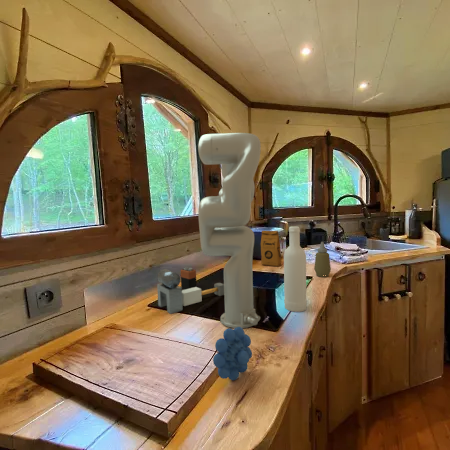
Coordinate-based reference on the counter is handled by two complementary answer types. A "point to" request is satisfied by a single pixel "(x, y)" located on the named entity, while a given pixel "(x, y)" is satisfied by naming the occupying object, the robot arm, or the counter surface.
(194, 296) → the white mallet
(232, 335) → the grapes
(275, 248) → the coffee package
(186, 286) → the battery
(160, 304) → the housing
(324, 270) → the squeeze bottle
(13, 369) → the counter surface
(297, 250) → the bottle
